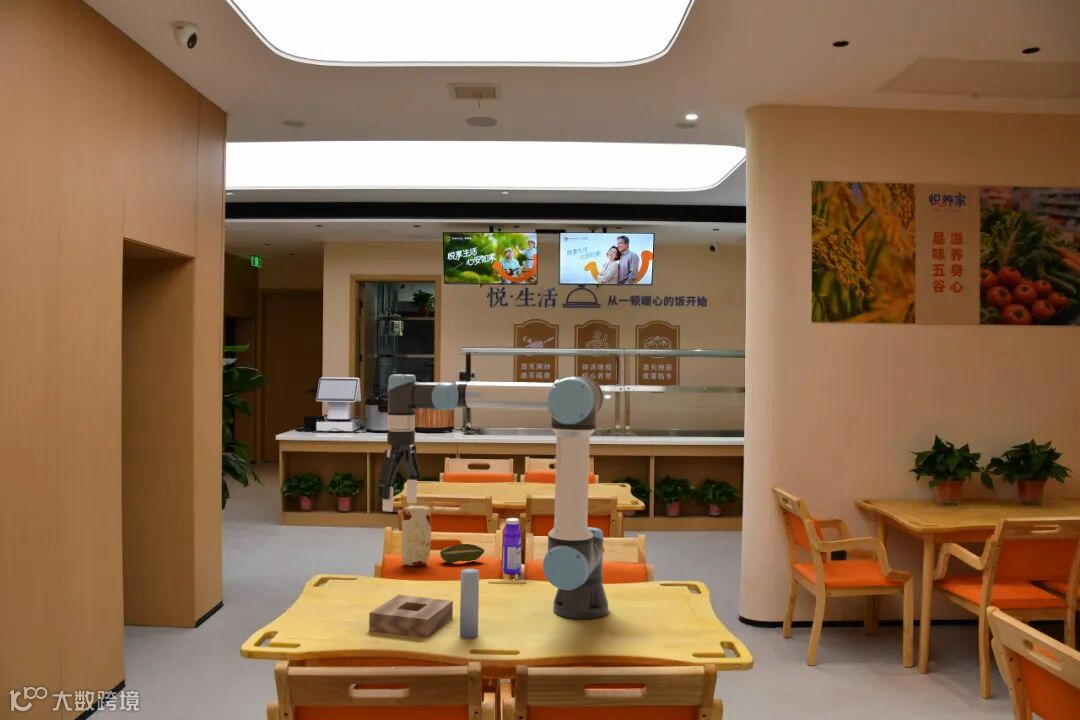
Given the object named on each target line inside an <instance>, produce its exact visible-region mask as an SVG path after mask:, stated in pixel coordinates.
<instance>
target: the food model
mask: <svg viewBox="0 0 1080 720" xmlns="http://www.w3.org/2000/svg"><path fill="white" fill-rule="evenodd" d="M431 521H432V518H431V508H430V507H428V506H426V505H425V506H424V505H410V506H406V507H404V508H403V509H402V523H401V563H402V564H404V565H406V566H411V567H413V566H414V567H415V566H416V567H423V566H426V565H427V564H428V562H429V558H430V554H431V545H432V544H431V543H432V523H431Z"/></svg>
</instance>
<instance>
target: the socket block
mask: <svg viewBox="0 0 1080 720" xmlns="http://www.w3.org/2000/svg"><path fill="white" fill-rule="evenodd" d="M453 604H454V600H450V599H440V598H431V597H421V596H415V595H412V596H411V595H405V594H397V595H395V596H394V597H392V598H391V599H389V600H388V601H386V602H384V603H383V604H381V605H379V606H378V607H376V608H375V609H372V611H370V612H369V613H368V615H369V618H368V621H369V622H368V631H369V632H370V631H371V632H379V633H385V634H386V633H387V634H395V635H403V636H410V637H419V638H425V639H426V638H429V637H430V636H432V635H433V634H434V633H435V632H436V631H438V630H439V629H440V628H441V627H443V626H444V625H445V624H447V623H448V622H449V621H451V619H453V617H454V616H453V615H454V614H453V613H454V612H453V611H454V605H453Z"/></svg>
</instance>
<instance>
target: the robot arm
mask: <svg viewBox="0 0 1080 720" xmlns="http://www.w3.org/2000/svg"><path fill="white" fill-rule="evenodd" d="M387 385H388V386H387V417H386V420H387V429H388V431H387V432H386V433H387V434H386V443H387V445H390V446H391V449H384V456H383V462H382V464H381V469H380V474H379V478H378V480H377V485H378V486H379V488H381V487H382V512H394V487H393V486H392V485H393V483H394V479H396V475H397V473H398V470H399V467H402V466H403V468H404V470H405V472H406V475H407V477H408V479H407V480H406V503H409V504H417V500H418V499H417V497H418V496H417V491H418V490H417V489H418V488H417V486H418V484H417V483H418V480H421V476H422V473H421V472H422V471H421V466H420V463H419V459H418V455H417V454H418V453H417V446H416V445H414V444H415V441H416V439H415V437H416V431H415V430H414V429H416V410H431V411H433V410H434V411H441V412H442V411H451V410H452V411H453V410H454V409H456V408H460V409H461V408H463V409H465V408H466V409H467V408H468V409H470V408H471V409H499V410H500V409H501V410H502V409H504V410H505V409H506V410H530V411H532V410H533V411H548V412H549V414H550V417H551V419H550V422H551V423H550V425H551V426H550V430H552V431H553V432H554V434H555V435H556V448H555V453H556V454H555V484H554V485H555V487H554V525H553V528H552V529H551V530H550V531H549V532H548V536H547V538H548V539H547V552H546V553H545V555H544V557H543V561H542V570H543V574H544V577H545V578H546V580H547V581H548V582H549V583H550V584H551V585H552V586H553V587H555V588H557V590H556V593H555V597H554V600H553V604H552V605H553V610H552V611H553V612H554V613H555V614H556V615H558V616H561V617H563V618H569V619H575V620H591V619H592V620H593V619H599V618H602V617H604V616H606V615H608V613H609V602H608V598H607V594H606V591H605V587H604V585H603V570H604V569H603V568H604V567H603V565H604V563H603V562H604V561H603V560H604V540H605V539H604V532H603V531H602V529H600V528H598V527H592V526H591V527H590V526H588V515H589V513H588V511H589V510H588V509H589V482H590V481H589V478H590V475H589V474H590V473H589V472H590V470H589V469H590V443H591V442H590V439H591V435H592V434H593V433H594V432H595V431H596V428H597V414H598V413H599V411H600V410H601V409H602V406H603V404H604V403H603V402H604V393H603V390H602V388H601V386H600V384H599V383H597V382H596V381H595V380H594V379H593V378H590V377H587V376H567V377H565V378H562V379H556V380H555V381H554V382H510V381H509V382H507V381H506V382H505V381H504V382H503V381H461V380H451V381H438V382H437V381H435V382H434V381H433V382H431V381H429V382H428V381H426V382H425V381H424V382H423V381H422V382H421V381H417V378H416V375H415V374H401V373H399V374H397V373H396V374H391V375H389V376H388V384H387Z"/></svg>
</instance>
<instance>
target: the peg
mask: <svg viewBox="0 0 1080 720" xmlns="http://www.w3.org/2000/svg"><path fill="white" fill-rule="evenodd" d="M479 583H480V570H478V569H475V568H465V569H464V568H463V569H461V571H460V598H459V599H460V600H459V602H460V605H459V606H460V608H459V610H460V612H459V614H460V615H459V637H460V638H463V639H468V640H469V639H471V640H472V639H475V638H477V637H479V601H480V599H479V597H480V596H479V591H480V590H479V589H480V587H479V586H480V584H479Z"/></svg>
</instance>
